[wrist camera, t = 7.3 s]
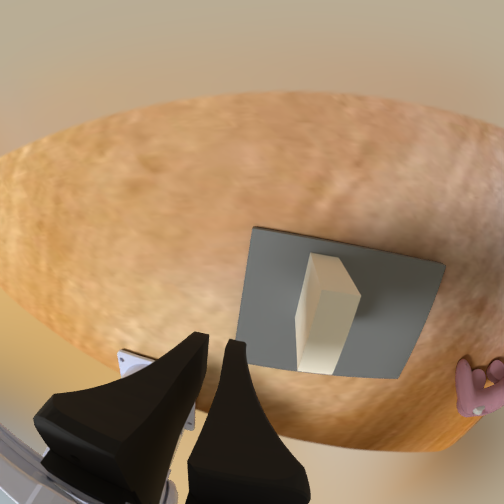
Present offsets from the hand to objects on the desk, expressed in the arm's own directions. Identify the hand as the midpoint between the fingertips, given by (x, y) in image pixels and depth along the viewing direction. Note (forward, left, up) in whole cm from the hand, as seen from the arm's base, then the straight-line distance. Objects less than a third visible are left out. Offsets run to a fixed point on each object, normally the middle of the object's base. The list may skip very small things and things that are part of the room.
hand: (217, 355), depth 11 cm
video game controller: (-7, -27, -10) cm, 30 cm away
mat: (-2, -8, -9) cm, 12 cm away
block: (0, -5, -9) cm, 10 cm away
